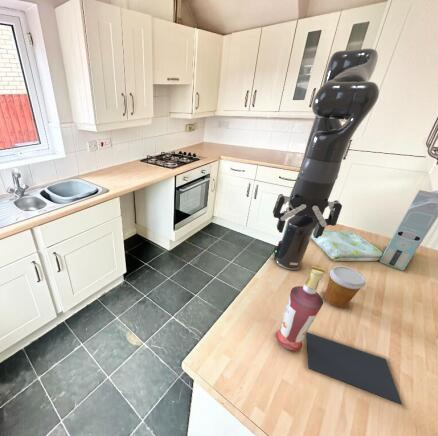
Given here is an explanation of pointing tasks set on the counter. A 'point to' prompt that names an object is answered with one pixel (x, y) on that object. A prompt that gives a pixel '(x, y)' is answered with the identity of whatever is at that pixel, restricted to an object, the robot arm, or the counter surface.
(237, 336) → the counter surface
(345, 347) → the mat
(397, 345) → the counter surface
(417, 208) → the device
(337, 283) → the disposable coffee cup
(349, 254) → the towel
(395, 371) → the counter surface
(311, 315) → the liquor
